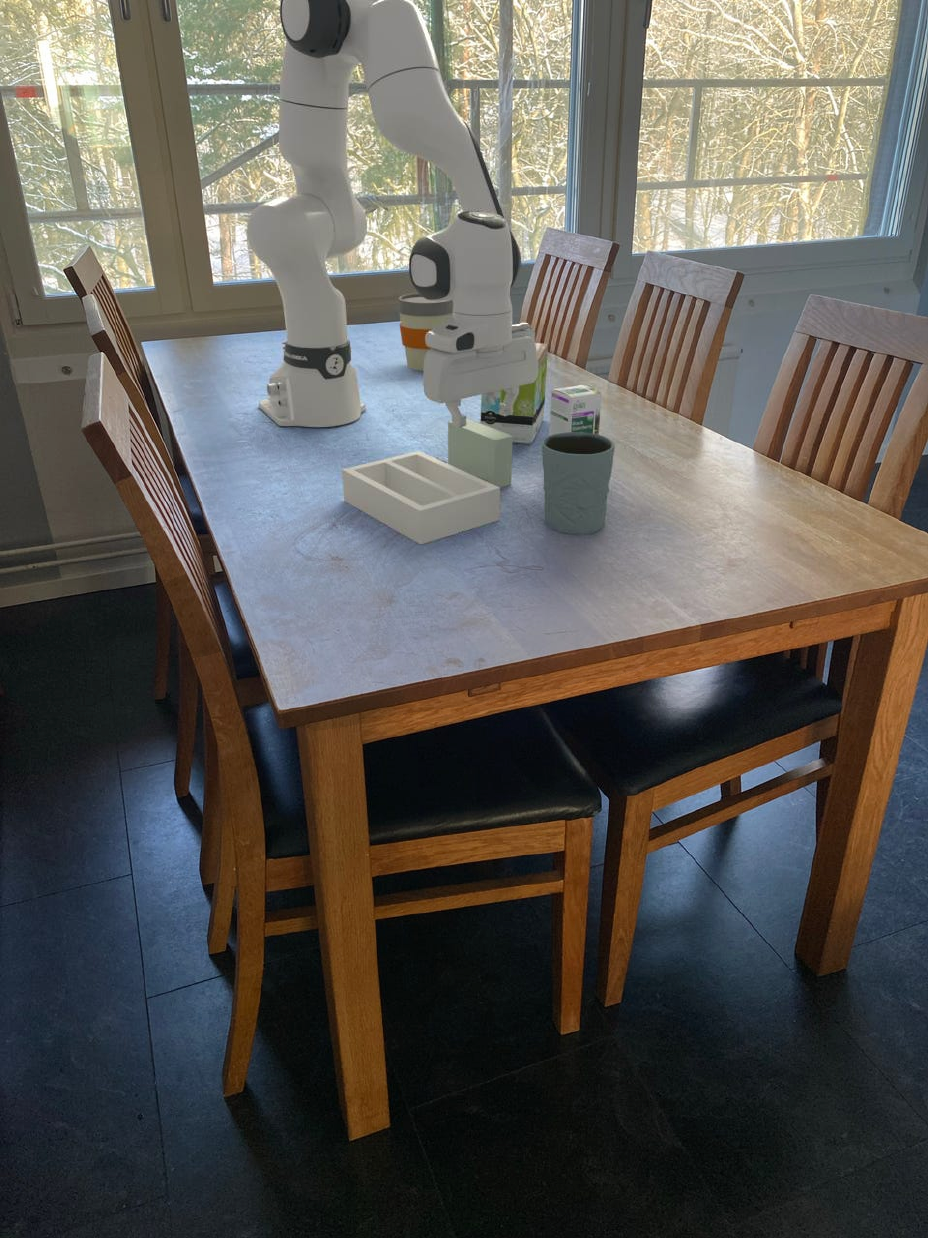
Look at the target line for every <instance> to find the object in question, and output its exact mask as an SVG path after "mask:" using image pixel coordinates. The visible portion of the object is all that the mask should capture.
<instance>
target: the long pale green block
mask: <svg viewBox="0 0 928 1238" xmlns="http://www.w3.org/2000/svg"><path fill="white" fill-rule="evenodd" d="M447 459H448V460H447V464H449V465H451V466H453V467H455V468H458V469H460V470H462V471H464V472H466V473H469V474H471V475H473V476H475V477H477V476H478V477H480V478H483V479H485V480H487V481H488V483H491V484H493V485H495V486H497V487H499V488H500V489H501V488H504V487H508V486H511V485H512V475H513V474H512V471H513V467H512V465H513V436H511V435H508V434H506V433H503V432H501V431H498V430H495V429H493V428H490V427H488V426H485V425H483V424H480V422H477V421H474V420H472V419H469V418H468V417H466V426H463V427H460V428H457V427H454V426H453V425H452V420H450V421H448V422H447Z"/></svg>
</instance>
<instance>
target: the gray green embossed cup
mask: <svg viewBox="0 0 928 1238" xmlns="http://www.w3.org/2000/svg"><path fill="white" fill-rule="evenodd" d="M615 448H616V443H615V442H614V441H613V440H611V439H610V438H609V437H608V436H607V437H606V436H604V435H600V434H599V435H597V434H591V433H582V432H568V433H559V434H554V435H551V436H547V437H544V439H543V440H542V441H541V454H542V455H541V456H542V457H541V458H542V468H543V491H544V495H543V496H544V523H545V525H546V527H547V528H549V529H550V530H552V531H554V532H556V531H559V532H558V533H560V532H562V533H561V534H565V533H567V534H566V535H574V534H584V535H590V534H589V533H591V534H593V533H594V534H595V533H597V532H599V531H600V530H602V529H603V527H604V526H605V521H606V515H607V501H608V495H609V491H610V490H609V489H610V487H609V484H610V479H611V476H612V470H613V462H614V456H615Z"/></svg>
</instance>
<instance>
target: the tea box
mask: <svg viewBox="0 0 928 1238" xmlns="http://www.w3.org/2000/svg"><path fill="white" fill-rule="evenodd" d="M535 345H536V350H537V360H538V376H537V378H536V380H535V382H534V383H530V384H526V385H521V386H519V394H518V396H517V398H516V400H515V402H514V404H513V414H512V415H508V416H503V415H500V414H499V409H500V408H499V404H500V403H503V400H504V398H505V395H506V391H504V389H503V390H499V391H495V392H490V393H486V394H481V395H480V396H481V397H480V398H481V399H480V400H481V401H480V421H479V423H480V424H483V425H485V426H488V427H490V428H493V429H495V430H498V431H501V432H503V433H506V434H508V435H511V436H513V443H514V444H532V443H533V441H534V440H535V438H536V436H537V434H538V431H539V430H540V428H541V426H542V423H543V421H544V417H545V416H544V415H545V403H546V387H547V386H546V385H547V370H548V356H549V354H548V353H549V344H548V343H538V342H537V343H536V342H535Z"/></svg>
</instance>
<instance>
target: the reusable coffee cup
mask: <svg viewBox="0 0 928 1238" xmlns="http://www.w3.org/2000/svg"><path fill="white" fill-rule="evenodd" d="M453 306H454V303H453V300H452V299H451V300H443V301H434V300H427V299H425V298H424V297H422V296H421V295H420V294H419V293H418V292H417V293H416V292H415V293H409V294H403V295H401V296H399V297H398V306H397V312H398V313H399V317H400V323H399V330H400V337H401V344H402V346H404V352H405V357H406V359H405V360H406V365H407V368H408V369H410V370H413V369H414V370H413V371H418V370H419V371H420V372H424V360H425V356H426V353H427V352H428V351H429V350H430V349H431V347H428V346H427V345H426V343H425V335H426V333H427V332H429V331H430V330H432V329H434V328H435V327H437V326H439V325H441V324H442V323H444V322H445V321H447V320H448V319H449V318H451V317H453ZM419 371H418V372H419Z"/></svg>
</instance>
